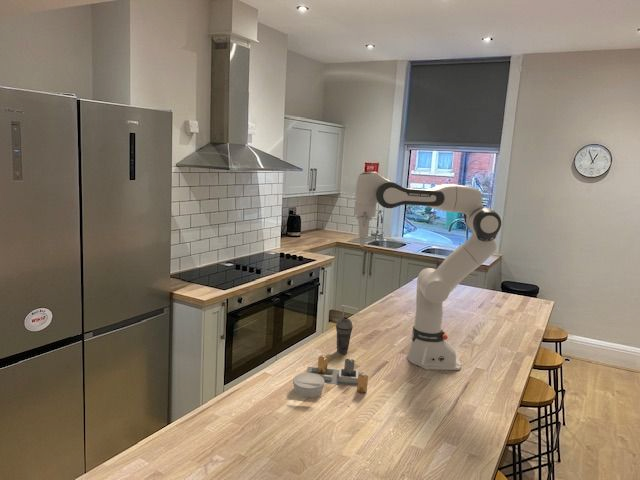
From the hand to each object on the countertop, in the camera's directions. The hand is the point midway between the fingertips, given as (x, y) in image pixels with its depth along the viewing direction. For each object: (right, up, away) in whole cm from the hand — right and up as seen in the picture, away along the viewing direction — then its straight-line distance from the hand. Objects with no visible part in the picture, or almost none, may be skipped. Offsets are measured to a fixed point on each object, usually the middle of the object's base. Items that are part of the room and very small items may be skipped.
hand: (361, 244), depth 195 cm
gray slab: (-12, -51, -16) cm, 55 cm away
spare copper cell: (-17, -50, -16) cm, 55 cm away
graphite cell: (-7, -50, -17) cm, 54 cm away
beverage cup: (-8, -47, +9) cm, 48 cm away
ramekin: (-22, -53, -28) cm, 64 cm away
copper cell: (-2, -54, -26) cm, 60 cm away
